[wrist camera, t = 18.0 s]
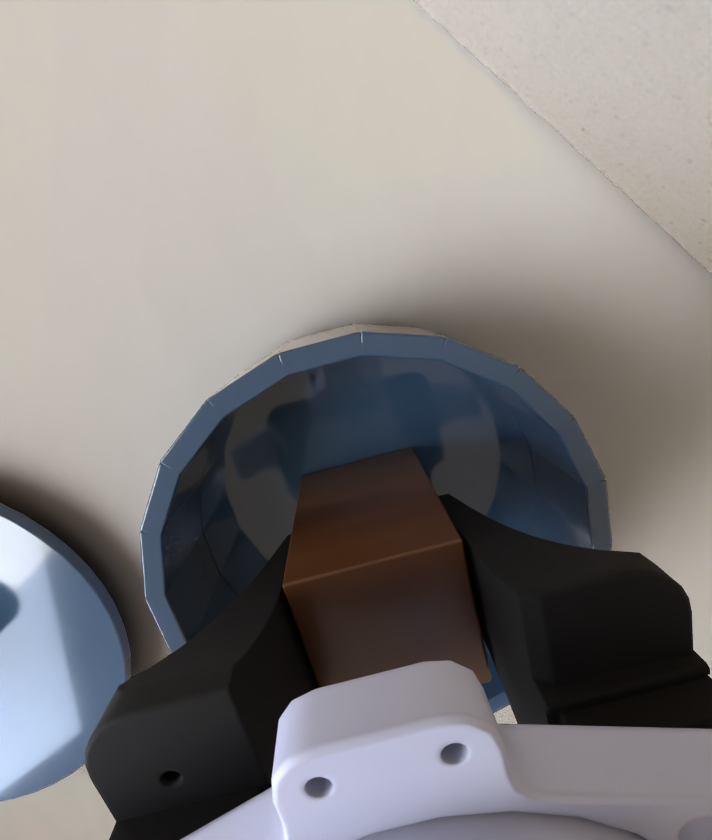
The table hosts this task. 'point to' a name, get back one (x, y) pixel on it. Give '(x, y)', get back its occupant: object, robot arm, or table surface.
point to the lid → (51, 656)
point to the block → (379, 573)
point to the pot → (357, 459)
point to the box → (612, 91)
